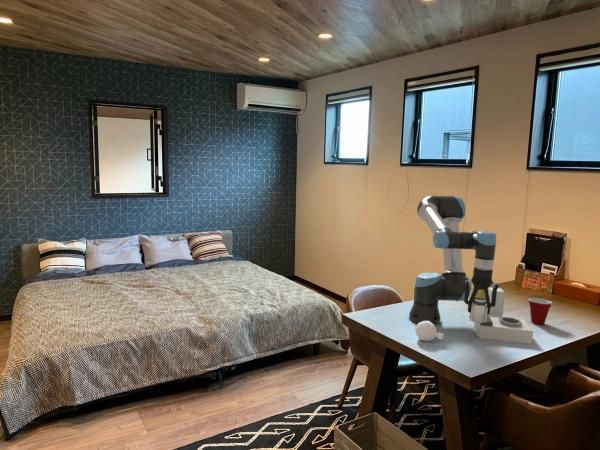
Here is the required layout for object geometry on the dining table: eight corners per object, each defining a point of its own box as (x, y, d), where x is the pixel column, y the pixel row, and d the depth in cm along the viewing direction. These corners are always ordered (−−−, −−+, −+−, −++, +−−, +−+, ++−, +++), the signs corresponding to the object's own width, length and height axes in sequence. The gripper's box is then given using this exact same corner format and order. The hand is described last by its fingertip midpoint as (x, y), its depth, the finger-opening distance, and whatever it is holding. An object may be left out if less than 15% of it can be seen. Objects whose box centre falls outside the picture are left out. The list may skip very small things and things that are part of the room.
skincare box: (502, 322, 225) (505, 292, 223) (488, 321, 227) (491, 291, 224) (498, 316, 233) (501, 287, 231) (485, 315, 235) (488, 286, 232)
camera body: (479, 338, 203) (480, 321, 202) (474, 327, 217) (475, 311, 216) (531, 344, 199) (533, 326, 198) (523, 332, 212) (525, 316, 211)
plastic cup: (546, 320, 230) (549, 298, 229) (552, 328, 220) (555, 304, 218) (523, 317, 233) (526, 295, 232) (527, 325, 223) (530, 301, 221)
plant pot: (491, 297, 268) (492, 281, 267) (487, 301, 260) (489, 285, 258) (472, 293, 274) (474, 278, 272) (469, 297, 265) (470, 281, 264)
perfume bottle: (411, 338, 195) (440, 347, 190) (417, 317, 196) (445, 326, 191) (414, 337, 203) (441, 346, 198) (419, 317, 204) (446, 325, 199)
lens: (472, 322, 192) (474, 299, 190) (470, 318, 197) (472, 296, 195) (484, 323, 191) (487, 300, 189) (482, 319, 196) (485, 297, 194)
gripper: (462, 268, 188) (456, 321, 192) (508, 272, 185) (501, 326, 189) (459, 264, 196) (454, 315, 199) (503, 267, 192) (497, 319, 196)
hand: (477, 320), depth 194 cm, fingers closed on lens, 5 cm apart
